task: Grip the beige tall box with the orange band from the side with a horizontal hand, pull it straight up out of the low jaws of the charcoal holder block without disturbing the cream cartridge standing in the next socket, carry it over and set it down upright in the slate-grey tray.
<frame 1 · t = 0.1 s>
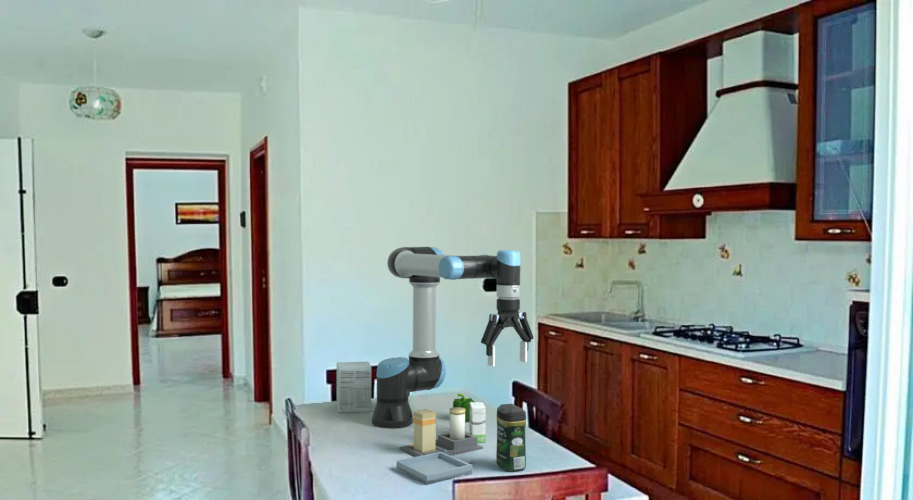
hand: (507, 363, 231), 28 cm above the table, tool pointing down, fingers open, 13 cm apart
beige tall box: (424, 452, 228), resting in holder block
holder block: (424, 452, 228), on the table
supplement box: (353, 408, 285), on the table
tray: (434, 471, 210), on the table
ink box: (477, 439, 244), on the table
coffee jar: (510, 467, 214), on the table
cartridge: (457, 445, 236), resting in holder block
bell pepper: (464, 420, 268), on the table
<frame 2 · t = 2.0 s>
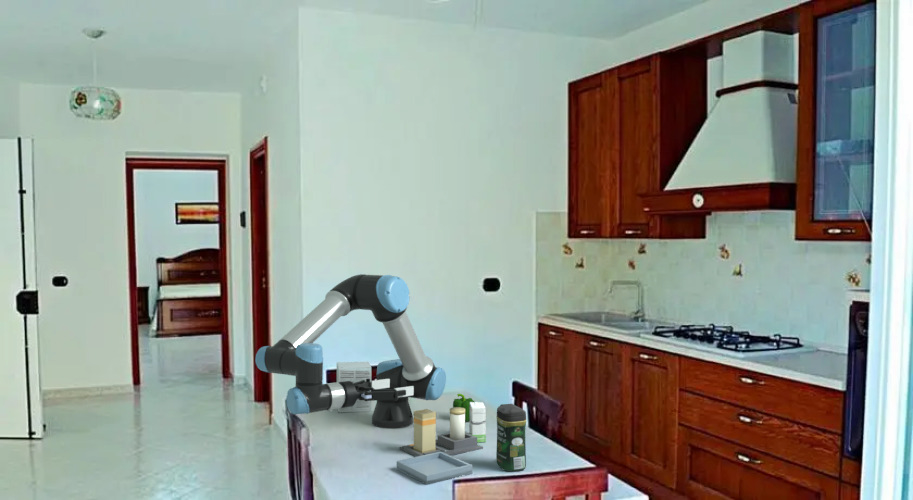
hand: (400, 386, 222), 22 cm above the table, tool horizontal, fingers open, 13 cm apart
nothing on the table moved.
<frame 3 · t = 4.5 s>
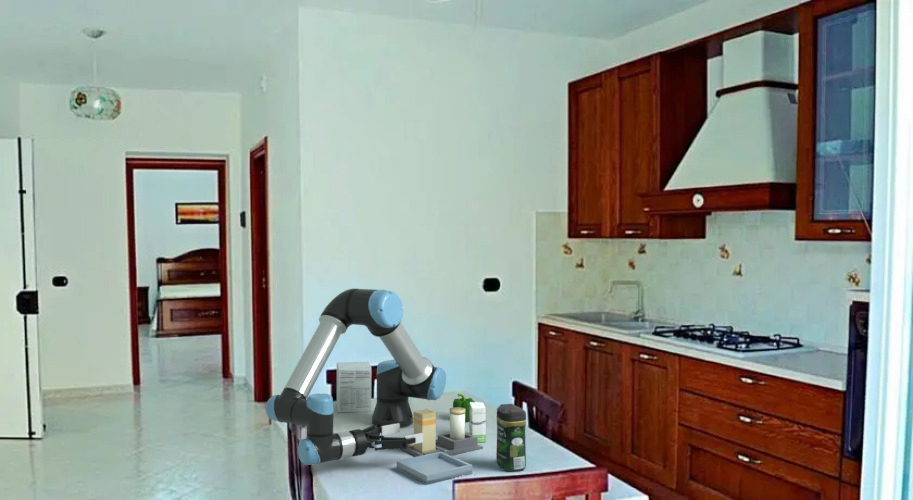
hand: (410, 432, 225), 7 cm above the table, tool horizontal, fingers open, 13 cm apart
nothing on the table moved.
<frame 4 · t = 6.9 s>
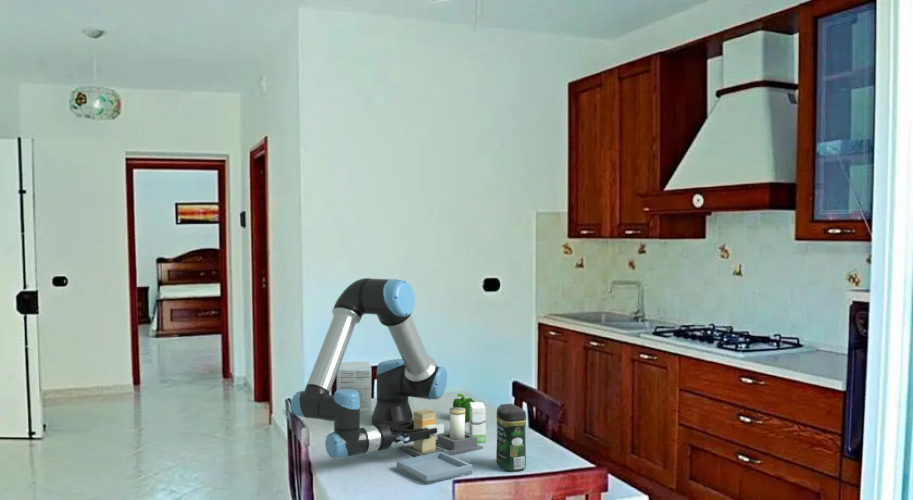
hand: (438, 426, 231), 8 cm above the table, tool horizontal, fingers closed on beige tall box, 5 cm apart
beige tall box: (424, 452, 228), resting in holder block, touching gripper
everything else where it was.
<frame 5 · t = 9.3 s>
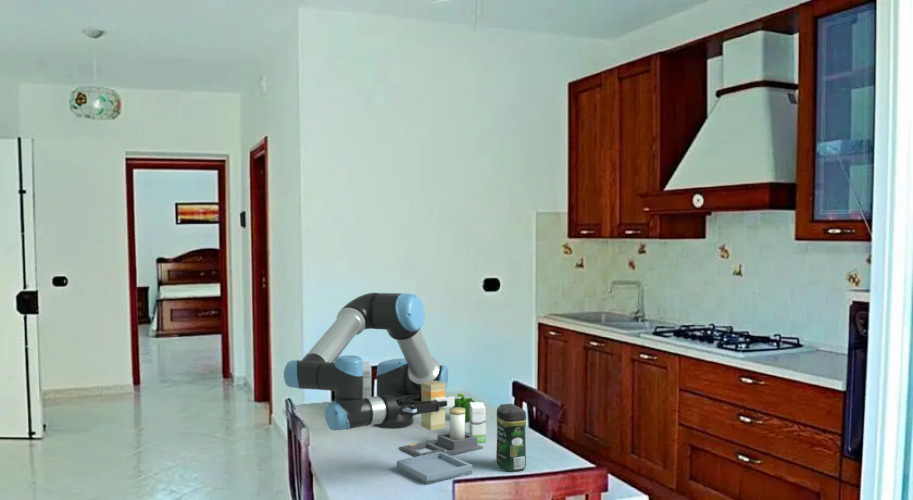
hand: (448, 399, 213), 21 cm above the table, tool horizontal, fingers closed on beige tall box, 5 cm apart
beige tall box: (433, 427, 210), point 13 cm above the table, touching gripper
everything else where it was.
when the fingers open (10 cm above the table, at t = 11.6 s): beige tall box drops 1 cm, resting on tray.
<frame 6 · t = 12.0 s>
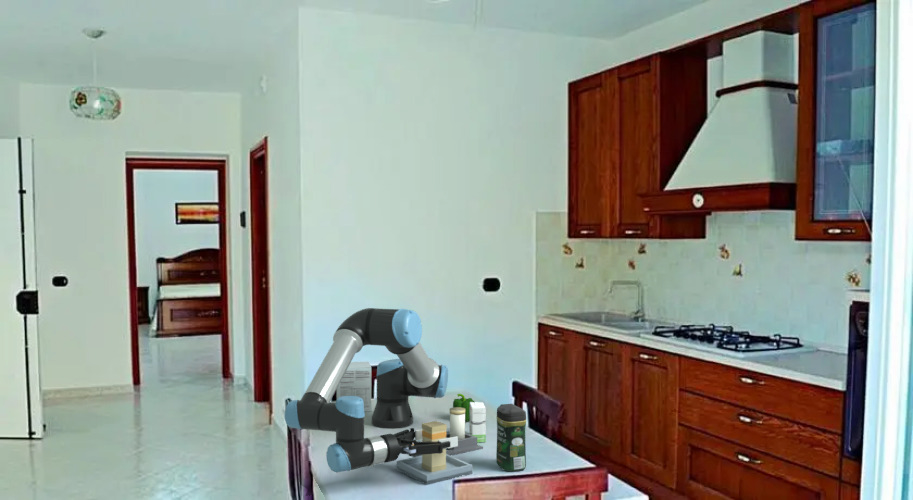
hand: (445, 436, 212), 10 cm above the table, tool horizontal, fingers open, 11 cm apart
beige tall box: (433, 468, 210), point 1 cm above the table, touching tray
everything else where it was.
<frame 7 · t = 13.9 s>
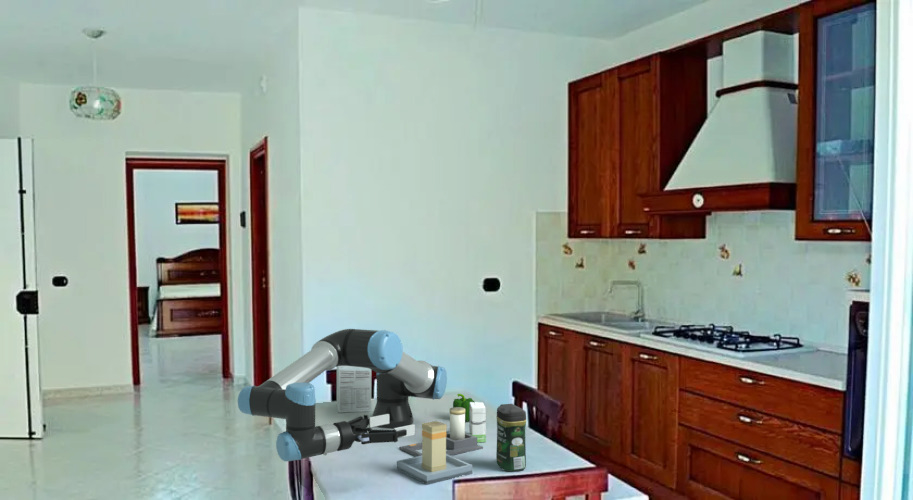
hand: (401, 423, 206), 15 cm above the table, tool horizontal, fingers open, 13 cm apart
nothing on the table moved.
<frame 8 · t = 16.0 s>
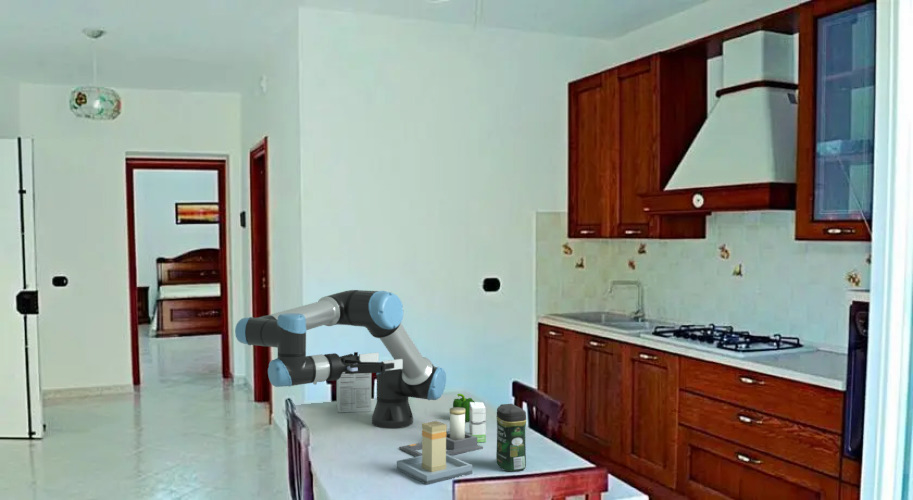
hand: (389, 360, 213), 32 cm above the table, tool horizontal, fingers open, 13 cm apart
nothing on the table moved.
at the end: beige tall box inside the target area on the tray (0.1 cm from its centre), point 1.0 cm above the tray's base; beige tall box tilted 0°; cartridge moved 0.0 cm from its start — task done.
